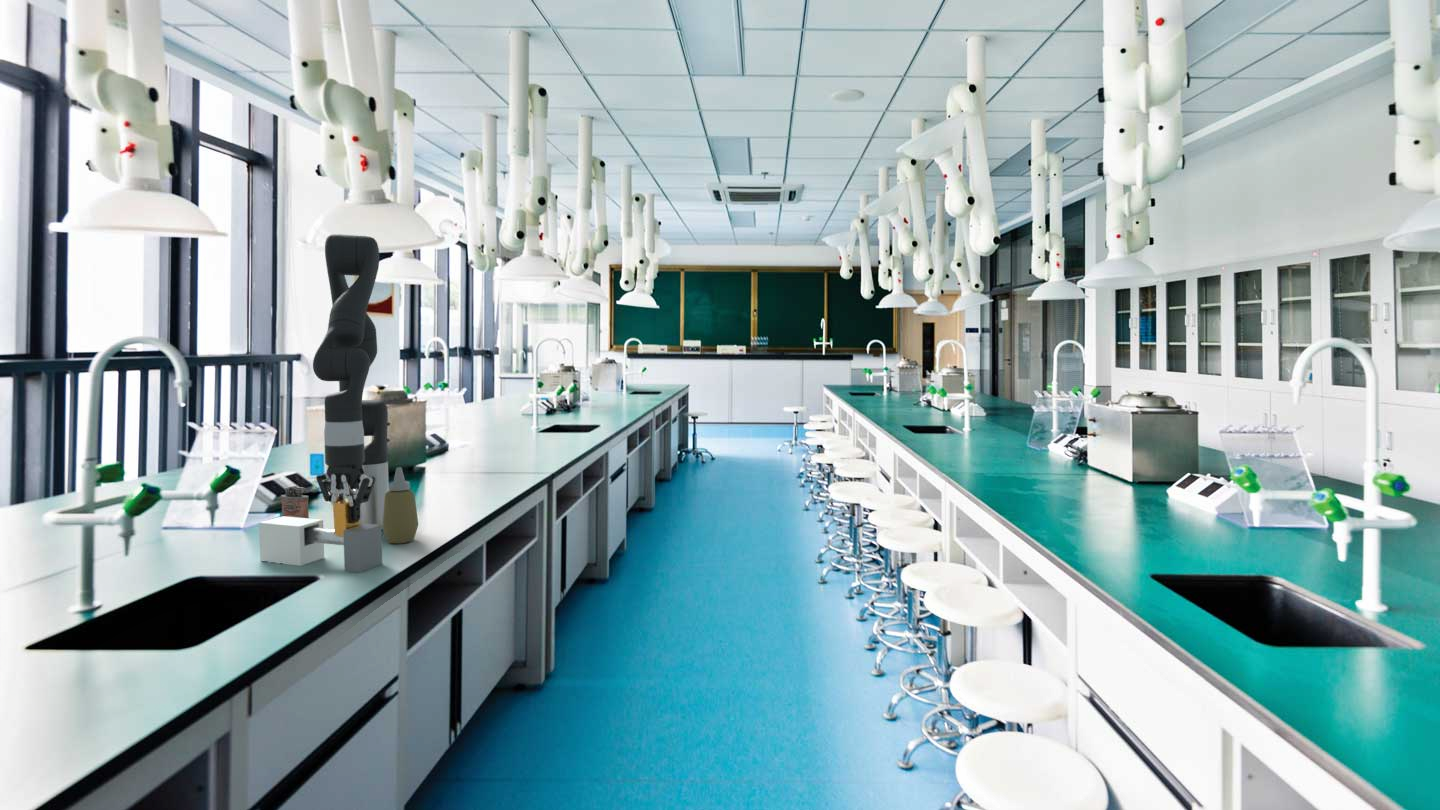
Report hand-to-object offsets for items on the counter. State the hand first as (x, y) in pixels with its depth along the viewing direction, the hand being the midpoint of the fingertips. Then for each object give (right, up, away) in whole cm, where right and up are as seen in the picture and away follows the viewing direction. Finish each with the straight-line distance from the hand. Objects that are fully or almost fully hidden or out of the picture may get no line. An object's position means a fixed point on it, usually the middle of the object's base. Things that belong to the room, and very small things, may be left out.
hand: (347, 521), depth 158 cm
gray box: (+4, -10, 0) cm, 10 cm away
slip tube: (-3, -5, +1) cm, 6 cm away
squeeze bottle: (+3, -8, +21) cm, 23 cm away
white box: (-14, -9, +5) cm, 18 cm away
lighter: (-32, -7, +37) cm, 50 cm away
